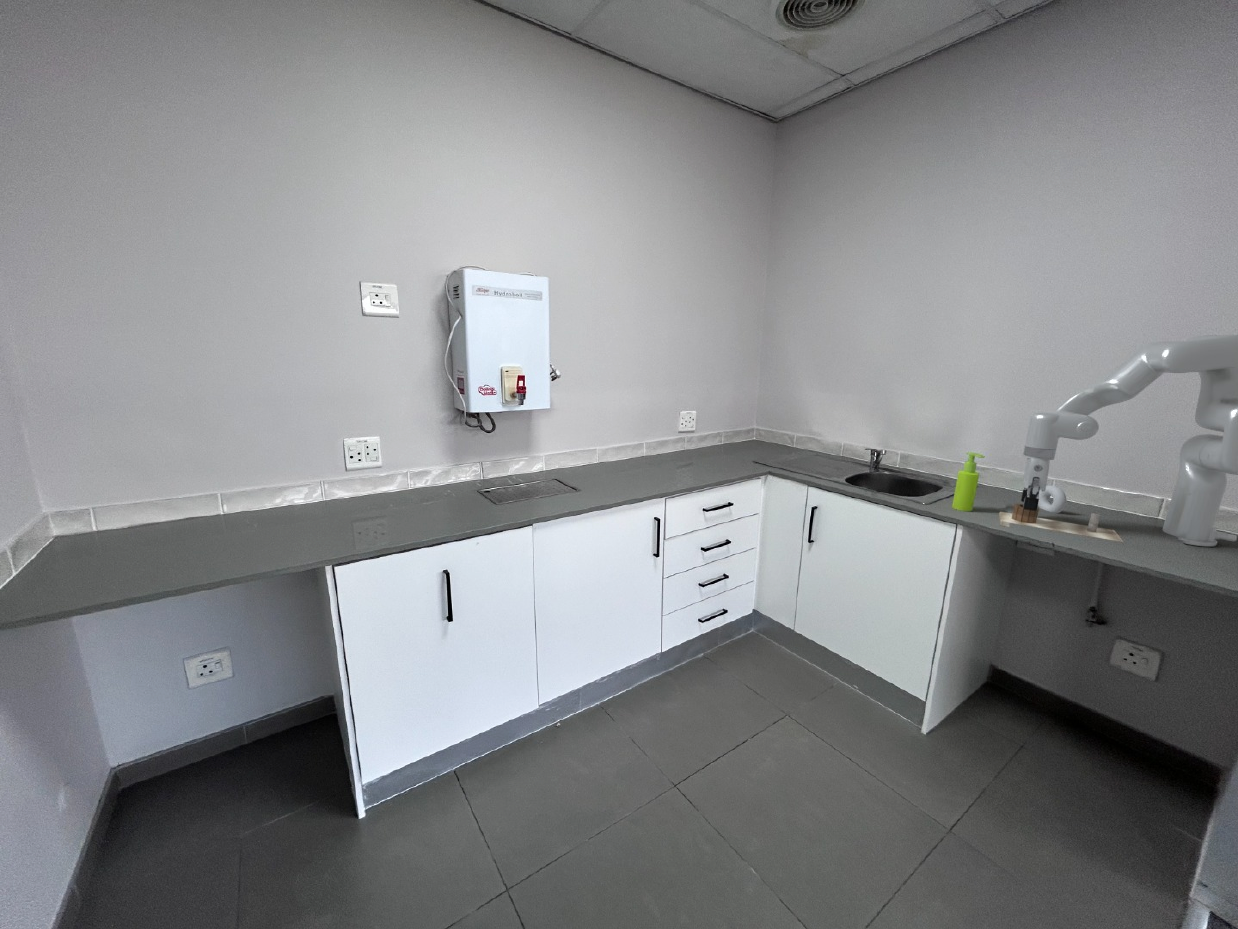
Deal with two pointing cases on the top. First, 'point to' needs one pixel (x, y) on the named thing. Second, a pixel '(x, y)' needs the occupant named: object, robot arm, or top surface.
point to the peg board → (1066, 526)
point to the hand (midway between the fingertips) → (1028, 506)
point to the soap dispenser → (966, 485)
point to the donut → (1058, 499)
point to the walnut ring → (1024, 514)
